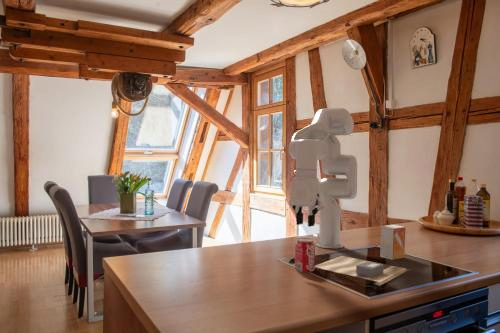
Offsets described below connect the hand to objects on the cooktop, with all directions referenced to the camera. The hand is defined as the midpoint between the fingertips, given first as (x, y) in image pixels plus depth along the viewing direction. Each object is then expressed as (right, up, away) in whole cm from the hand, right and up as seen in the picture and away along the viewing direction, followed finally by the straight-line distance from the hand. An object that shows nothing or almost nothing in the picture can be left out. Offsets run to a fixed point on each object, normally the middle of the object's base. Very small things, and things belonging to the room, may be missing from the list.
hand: (305, 224), depth 146 cm
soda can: (0, -18, +1) cm, 18 cm away
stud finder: (+22, -17, -4) cm, 28 cm away
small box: (+40, -17, +24) cm, 49 cm away
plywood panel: (+20, -17, +4) cm, 27 cm away
